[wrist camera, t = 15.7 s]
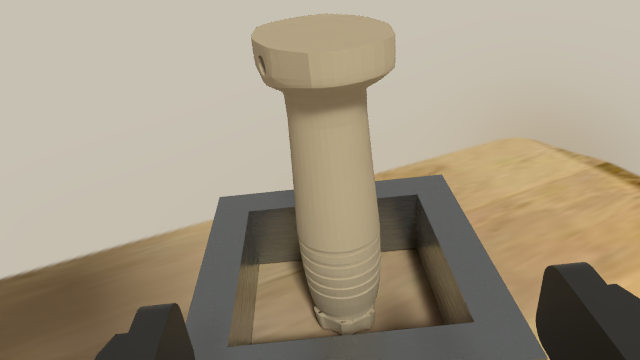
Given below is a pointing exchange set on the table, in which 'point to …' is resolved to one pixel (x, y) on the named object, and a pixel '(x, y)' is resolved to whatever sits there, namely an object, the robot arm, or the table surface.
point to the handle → (331, 153)
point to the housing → (395, 234)
